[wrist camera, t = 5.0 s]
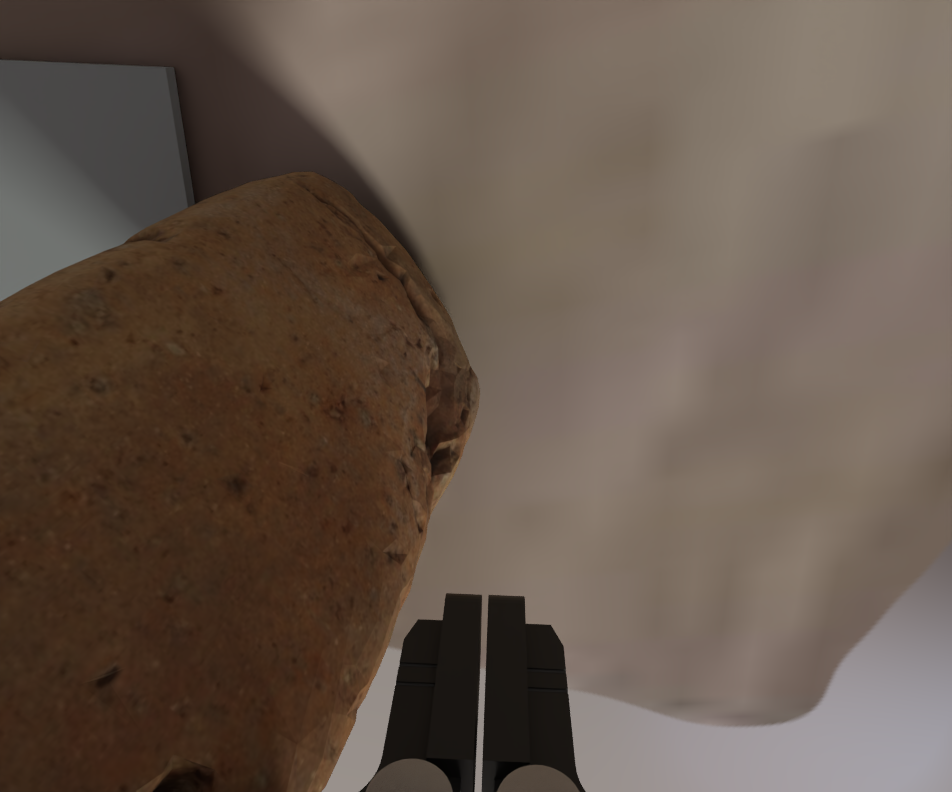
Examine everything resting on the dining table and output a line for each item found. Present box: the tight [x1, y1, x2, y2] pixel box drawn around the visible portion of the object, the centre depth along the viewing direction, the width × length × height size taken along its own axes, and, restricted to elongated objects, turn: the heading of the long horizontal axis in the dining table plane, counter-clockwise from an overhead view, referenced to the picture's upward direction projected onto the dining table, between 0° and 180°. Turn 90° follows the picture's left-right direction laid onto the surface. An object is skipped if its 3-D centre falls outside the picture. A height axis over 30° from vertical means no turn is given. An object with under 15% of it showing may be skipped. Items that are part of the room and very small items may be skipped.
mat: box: [0, 59, 195, 301], centre depth 25 cm, size 15×13×1 cm
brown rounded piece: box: [0, 172, 480, 792], centre depth 16 cm, size 11×8×20 cm
